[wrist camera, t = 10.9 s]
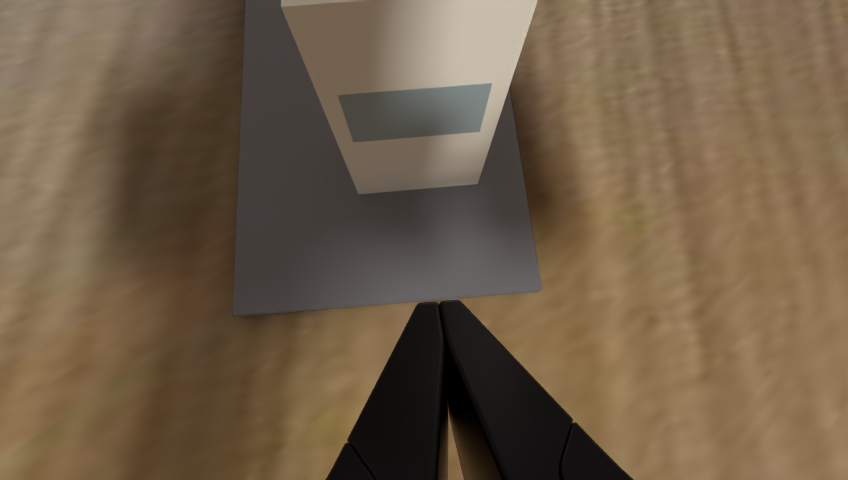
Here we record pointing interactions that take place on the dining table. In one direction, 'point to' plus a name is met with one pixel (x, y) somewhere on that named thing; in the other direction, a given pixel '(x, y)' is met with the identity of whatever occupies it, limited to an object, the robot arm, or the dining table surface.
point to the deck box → (411, 83)
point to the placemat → (358, 205)
